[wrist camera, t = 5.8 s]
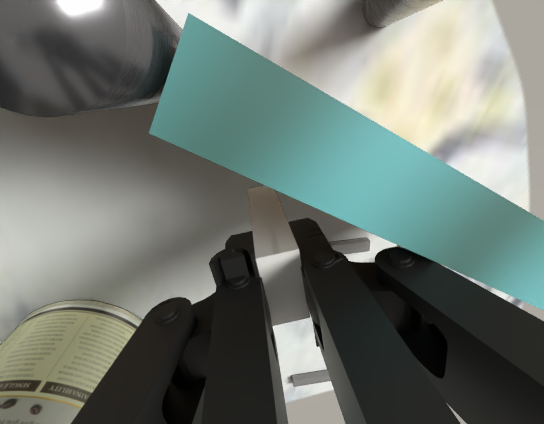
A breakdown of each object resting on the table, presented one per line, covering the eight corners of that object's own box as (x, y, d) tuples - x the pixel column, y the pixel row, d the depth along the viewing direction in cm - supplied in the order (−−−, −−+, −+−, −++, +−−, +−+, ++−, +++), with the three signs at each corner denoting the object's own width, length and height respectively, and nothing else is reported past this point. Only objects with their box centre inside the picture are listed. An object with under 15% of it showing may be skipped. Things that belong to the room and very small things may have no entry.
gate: (207, 106, 14) (148, 132, 5) (223, 66, 13) (188, 12, 4) (417, 212, 17) (600, 335, 9) (438, 184, 17) (657, 287, 8)
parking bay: (292, 381, 24) (299, 417, 22) (282, 248, 19) (289, 274, 16) (401, 364, 25) (420, 397, 22) (421, 230, 19) (451, 252, 17)
